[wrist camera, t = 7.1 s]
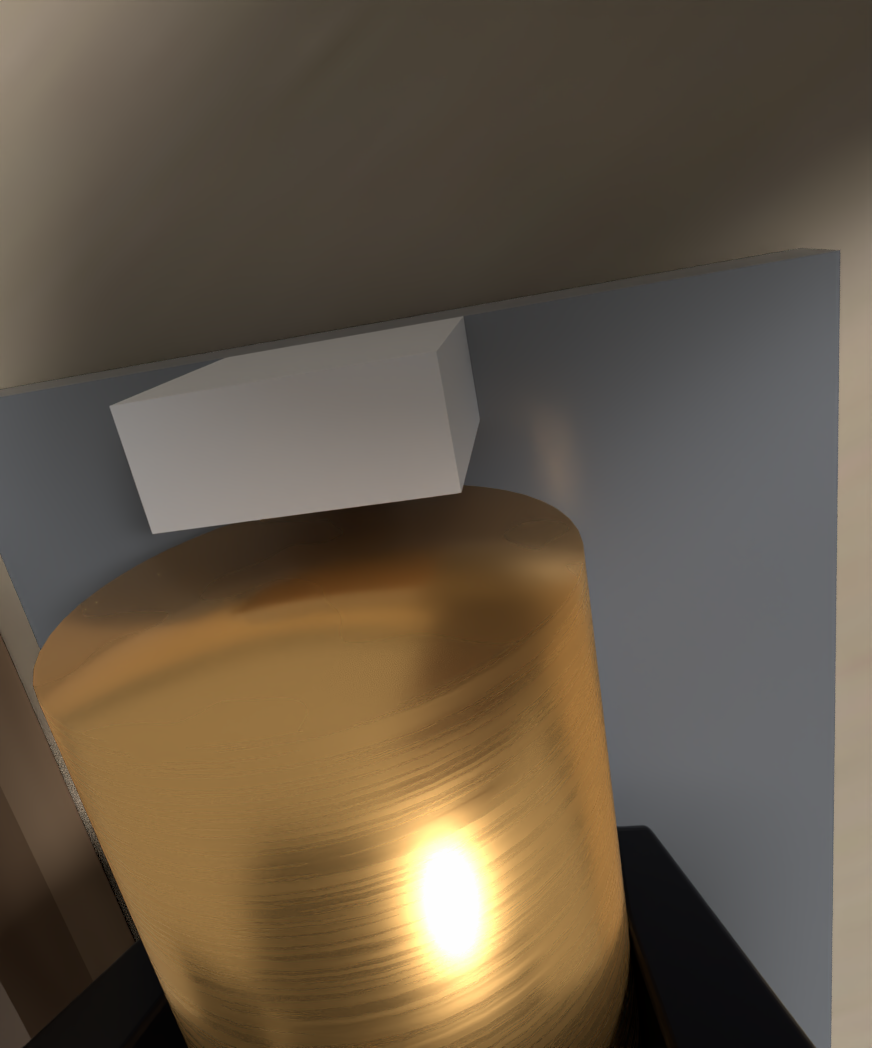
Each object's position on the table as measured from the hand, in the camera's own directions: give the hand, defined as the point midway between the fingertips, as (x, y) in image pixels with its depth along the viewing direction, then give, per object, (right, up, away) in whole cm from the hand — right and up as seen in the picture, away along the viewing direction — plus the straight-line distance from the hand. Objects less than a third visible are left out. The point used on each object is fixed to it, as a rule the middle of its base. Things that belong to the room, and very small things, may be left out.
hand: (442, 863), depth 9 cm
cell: (0, -1, -1) cm, 2 cm away
